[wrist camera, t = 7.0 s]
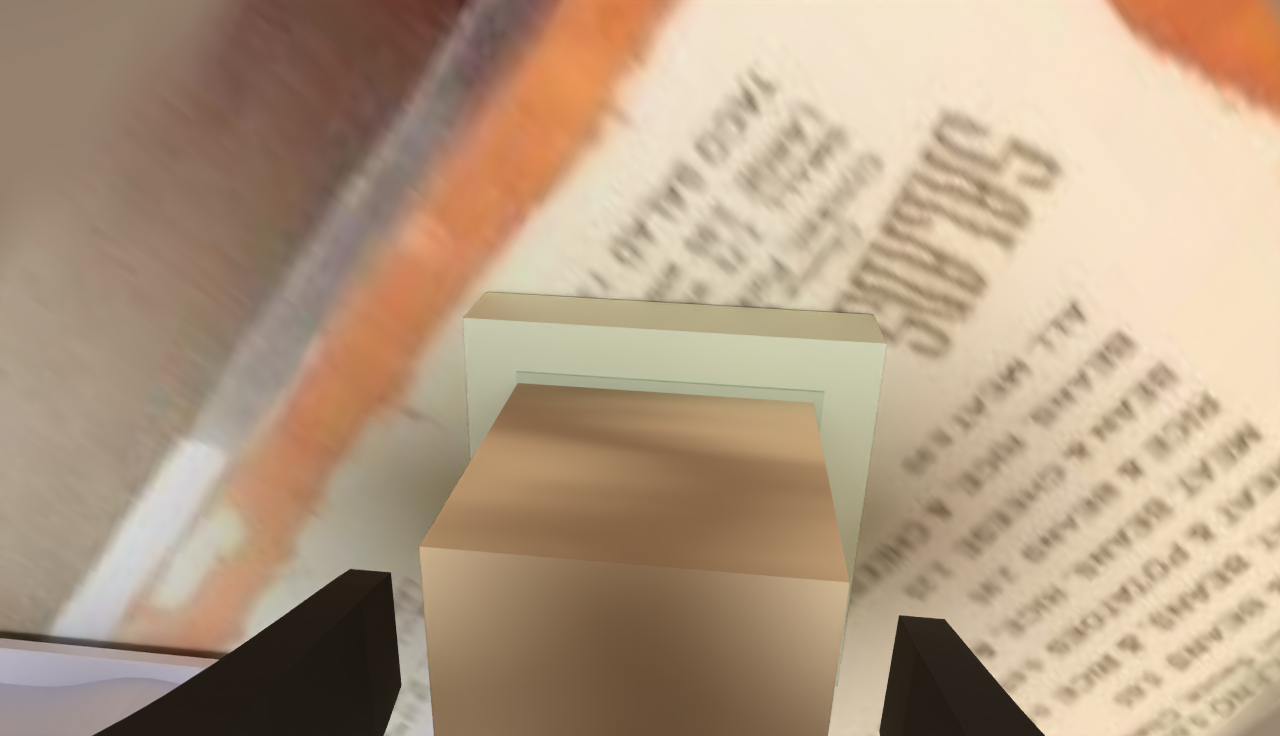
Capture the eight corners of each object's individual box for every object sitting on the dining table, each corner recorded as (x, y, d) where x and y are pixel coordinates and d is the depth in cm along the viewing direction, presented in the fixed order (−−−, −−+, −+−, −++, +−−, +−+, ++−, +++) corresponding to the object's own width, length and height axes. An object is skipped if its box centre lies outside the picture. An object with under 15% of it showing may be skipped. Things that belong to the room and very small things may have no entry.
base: (499, 605, 19) (478, 654, 17) (486, 291, 16) (461, 319, 14) (829, 634, 18) (837, 688, 16) (873, 314, 15) (887, 344, 14)
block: (524, 621, 17) (443, 851, 12) (518, 382, 15) (418, 546, 10) (785, 645, 16) (804, 892, 12) (813, 402, 14) (848, 582, 10)
